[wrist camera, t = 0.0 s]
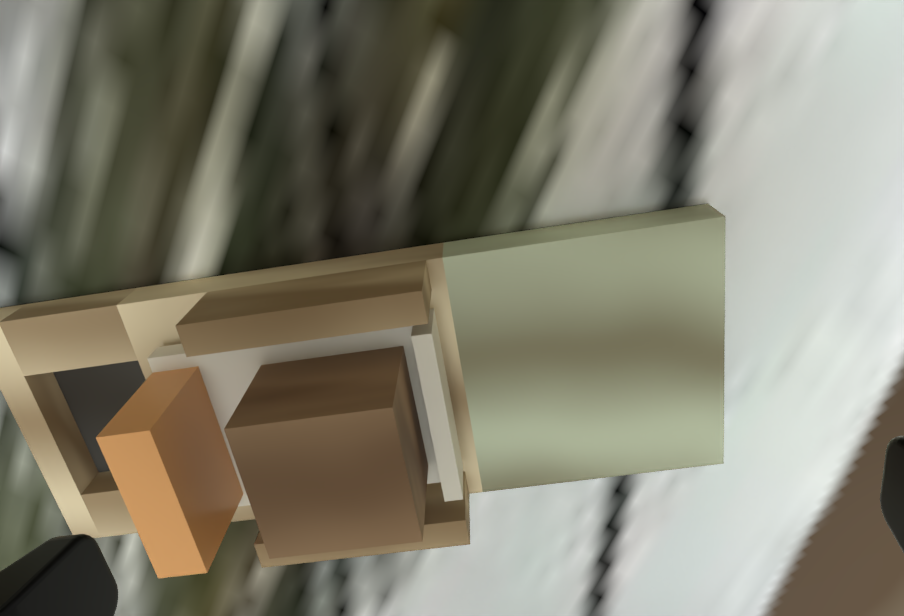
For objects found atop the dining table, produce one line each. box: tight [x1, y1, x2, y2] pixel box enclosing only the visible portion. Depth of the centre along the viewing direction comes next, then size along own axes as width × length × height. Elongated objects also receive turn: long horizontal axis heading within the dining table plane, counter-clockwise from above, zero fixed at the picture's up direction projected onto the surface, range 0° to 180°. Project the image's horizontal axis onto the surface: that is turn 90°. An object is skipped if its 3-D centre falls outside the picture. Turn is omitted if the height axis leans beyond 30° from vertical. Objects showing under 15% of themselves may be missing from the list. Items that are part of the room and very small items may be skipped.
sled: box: [96, 308, 463, 578], centre depth 20 cm, size 6×9×4 cm, turn 99°
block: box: [224, 346, 428, 559], centre depth 20 cm, size 4×4×4 cm
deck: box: [0, 204, 725, 568], centre depth 22 cm, size 9×24×4 cm, turn 99°
